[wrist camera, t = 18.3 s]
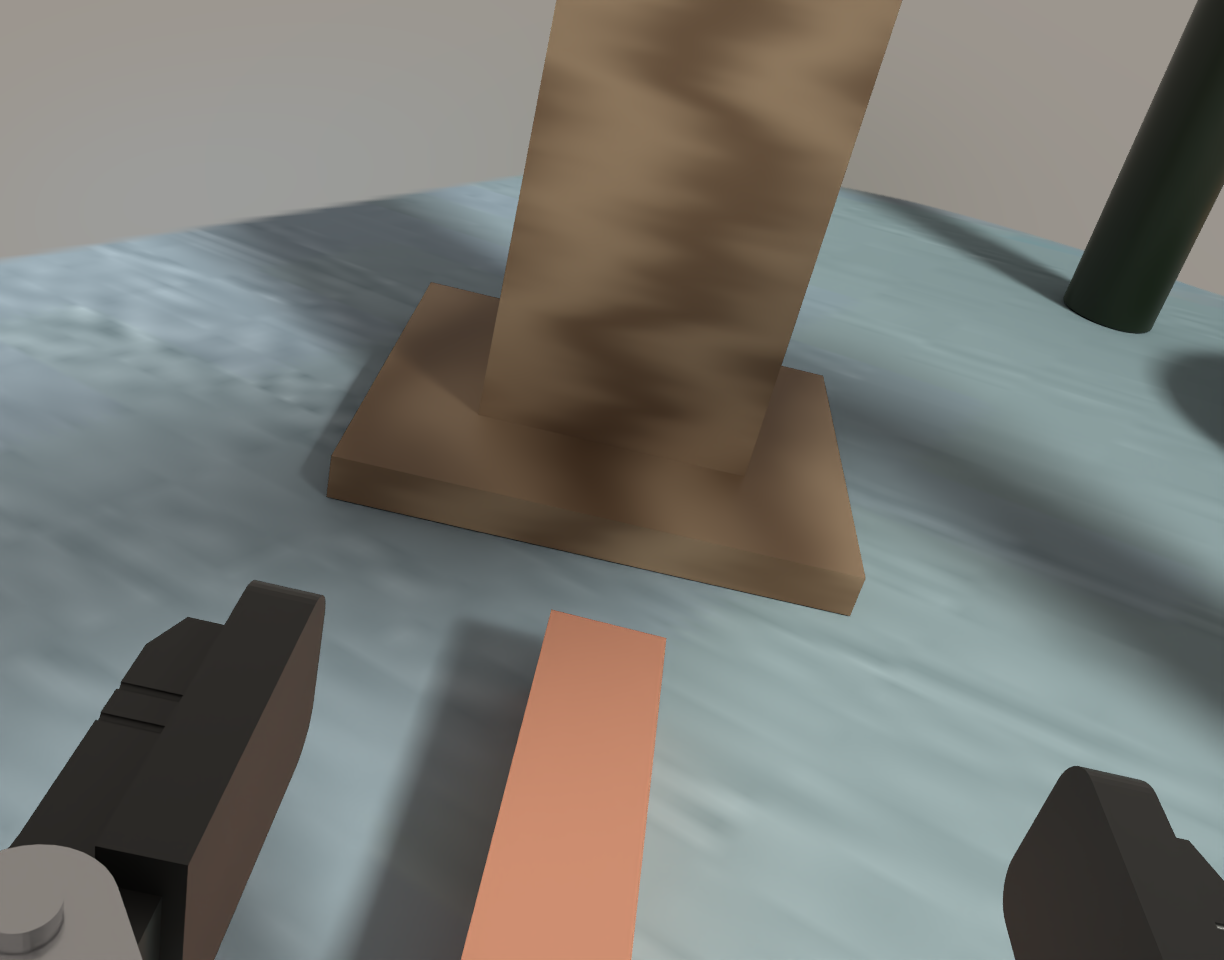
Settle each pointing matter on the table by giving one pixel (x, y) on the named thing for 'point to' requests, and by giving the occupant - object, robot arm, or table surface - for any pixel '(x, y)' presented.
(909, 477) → the table surface
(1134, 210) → the wine bottle
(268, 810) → the robot arm
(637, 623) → the table surface
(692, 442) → the wooden pedestal
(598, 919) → the stick
